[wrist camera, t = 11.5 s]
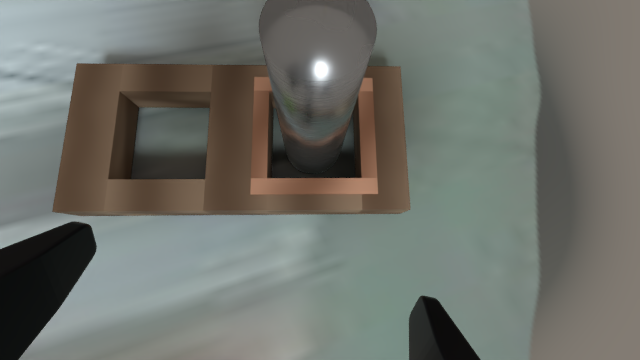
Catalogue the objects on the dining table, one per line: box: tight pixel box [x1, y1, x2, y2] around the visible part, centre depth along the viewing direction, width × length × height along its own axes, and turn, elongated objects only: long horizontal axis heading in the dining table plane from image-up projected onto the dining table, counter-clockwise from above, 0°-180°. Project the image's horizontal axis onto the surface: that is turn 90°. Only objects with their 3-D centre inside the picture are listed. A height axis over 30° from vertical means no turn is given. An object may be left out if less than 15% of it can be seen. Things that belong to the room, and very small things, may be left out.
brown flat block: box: [52, 64, 410, 216], centre depth 22 cm, size 22×10×3 cm, turn 91°
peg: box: [259, 0, 377, 174], centre depth 17 cm, size 4×4×13 cm
